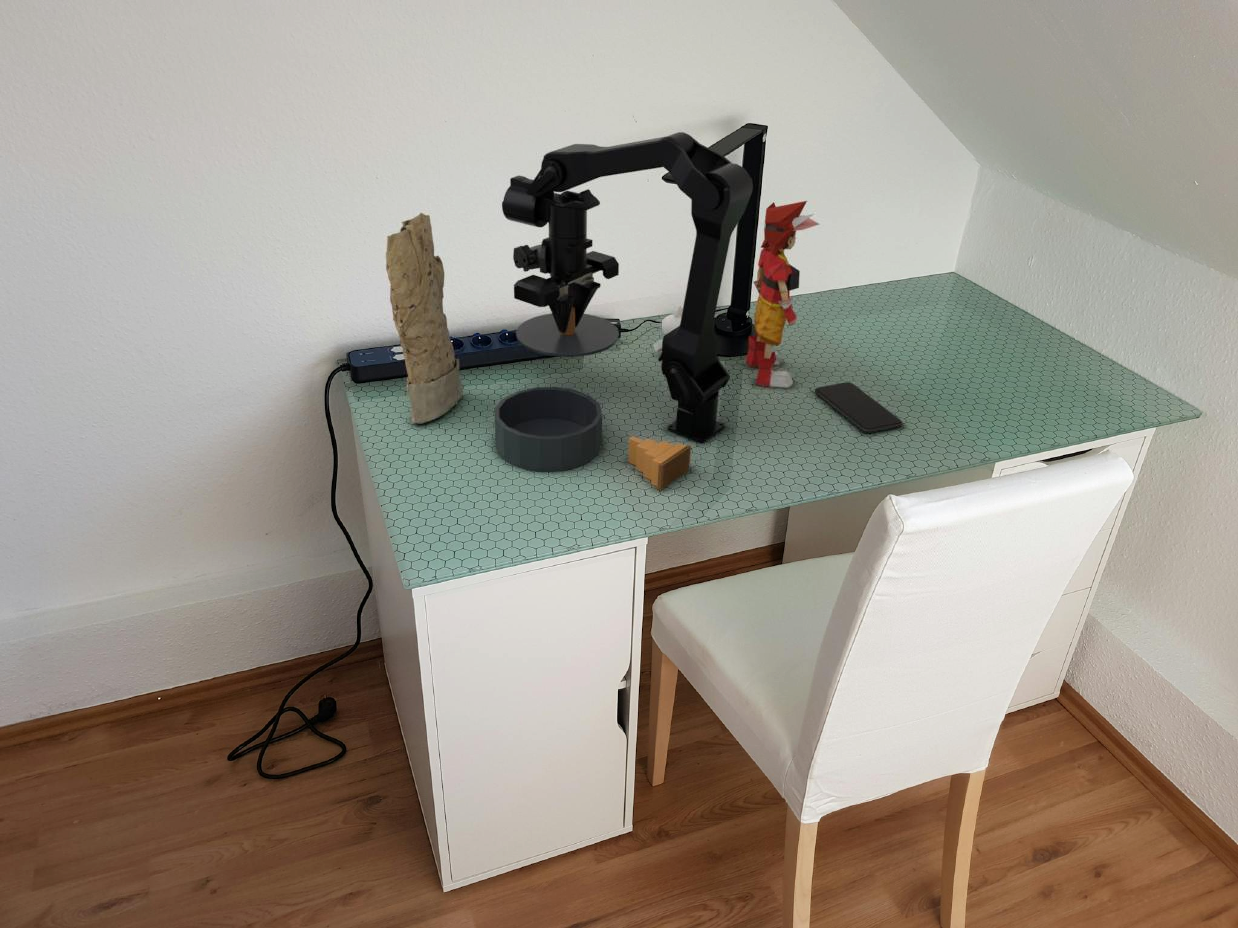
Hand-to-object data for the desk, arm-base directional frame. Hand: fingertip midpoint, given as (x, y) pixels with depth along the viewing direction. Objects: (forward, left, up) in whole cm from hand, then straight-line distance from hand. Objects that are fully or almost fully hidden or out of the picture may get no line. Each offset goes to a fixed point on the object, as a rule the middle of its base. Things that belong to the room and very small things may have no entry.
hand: (567, 329), depth 155 cm
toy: (-26, +23, -10) cm, 36 cm away
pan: (+16, +10, -10) cm, 21 cm away
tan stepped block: (+12, +26, -10) cm, 30 cm away
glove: (+19, -12, -10) cm, 25 cm away
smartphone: (-24, +40, -10) cm, 48 cm away
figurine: (-18, +9, -10) cm, 23 cm away
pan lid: (0, 0, -1) cm, 1 cm away
